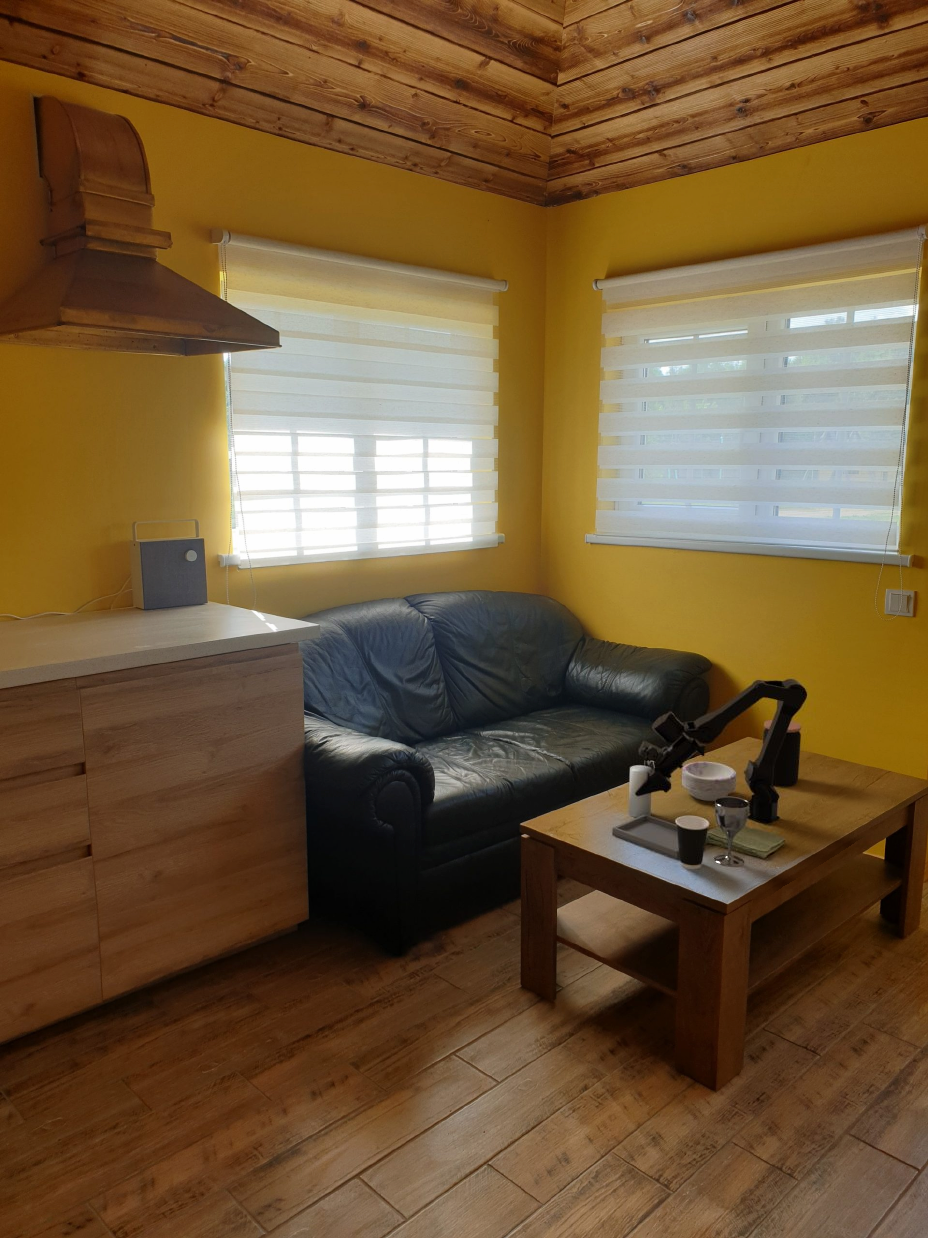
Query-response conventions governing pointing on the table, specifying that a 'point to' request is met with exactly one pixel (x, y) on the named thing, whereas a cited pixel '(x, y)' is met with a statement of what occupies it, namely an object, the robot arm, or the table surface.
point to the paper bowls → (708, 780)
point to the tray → (651, 834)
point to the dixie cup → (691, 840)
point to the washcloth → (748, 841)
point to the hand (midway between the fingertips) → (635, 791)
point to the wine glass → (731, 825)
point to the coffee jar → (786, 756)
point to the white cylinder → (637, 778)
